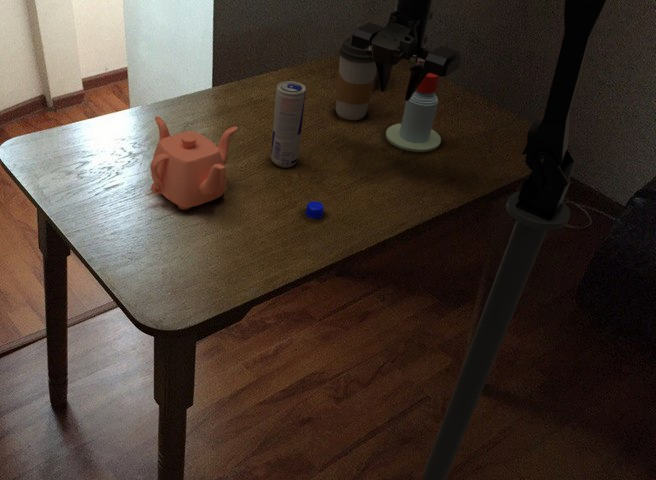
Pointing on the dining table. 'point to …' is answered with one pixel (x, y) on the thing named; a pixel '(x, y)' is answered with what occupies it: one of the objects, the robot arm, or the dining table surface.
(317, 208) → the bottle cap
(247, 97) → the dining table surface
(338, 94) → the coffee cup
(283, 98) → the beverage can
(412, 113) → the bottle
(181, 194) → the teapot
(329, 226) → the dining table surface
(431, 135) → the coaster
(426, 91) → the cap
